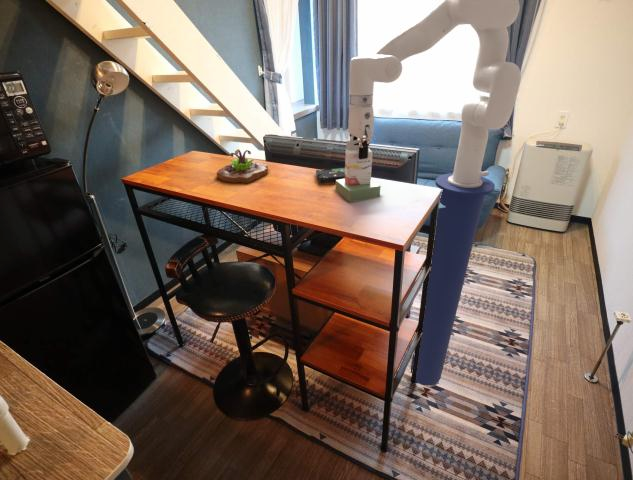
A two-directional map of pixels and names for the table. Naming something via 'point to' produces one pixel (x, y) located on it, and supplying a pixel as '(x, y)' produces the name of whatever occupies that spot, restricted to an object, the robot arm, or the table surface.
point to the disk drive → (330, 175)
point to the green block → (357, 190)
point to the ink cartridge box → (357, 165)
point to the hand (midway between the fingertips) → (358, 155)
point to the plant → (242, 170)
